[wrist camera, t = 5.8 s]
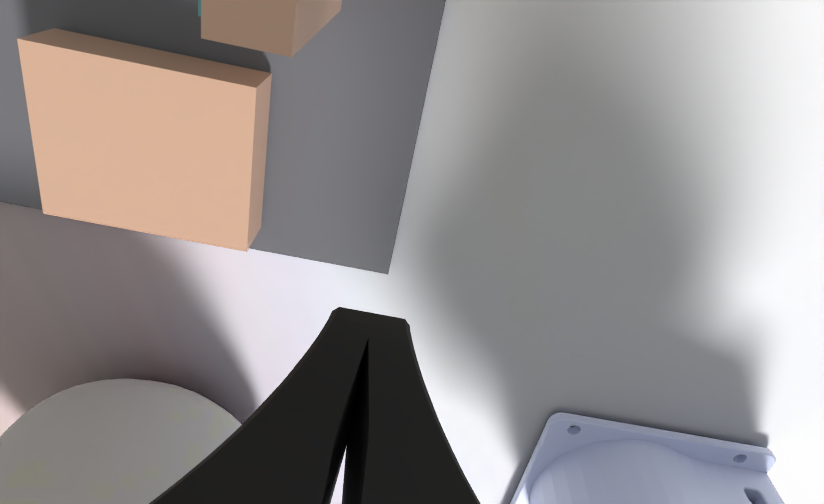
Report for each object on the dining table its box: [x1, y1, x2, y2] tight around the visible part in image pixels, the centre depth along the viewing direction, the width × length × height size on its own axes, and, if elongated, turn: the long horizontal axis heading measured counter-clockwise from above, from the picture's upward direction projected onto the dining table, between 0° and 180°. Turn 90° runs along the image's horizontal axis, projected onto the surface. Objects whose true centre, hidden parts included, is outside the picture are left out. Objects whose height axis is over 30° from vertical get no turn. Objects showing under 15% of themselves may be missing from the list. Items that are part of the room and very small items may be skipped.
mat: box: [0, 0, 446, 274], centre depth 16 cm, size 14×14×1 cm
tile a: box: [17, 28, 272, 252], centre depth 16 cm, size 2×5×6 cm
